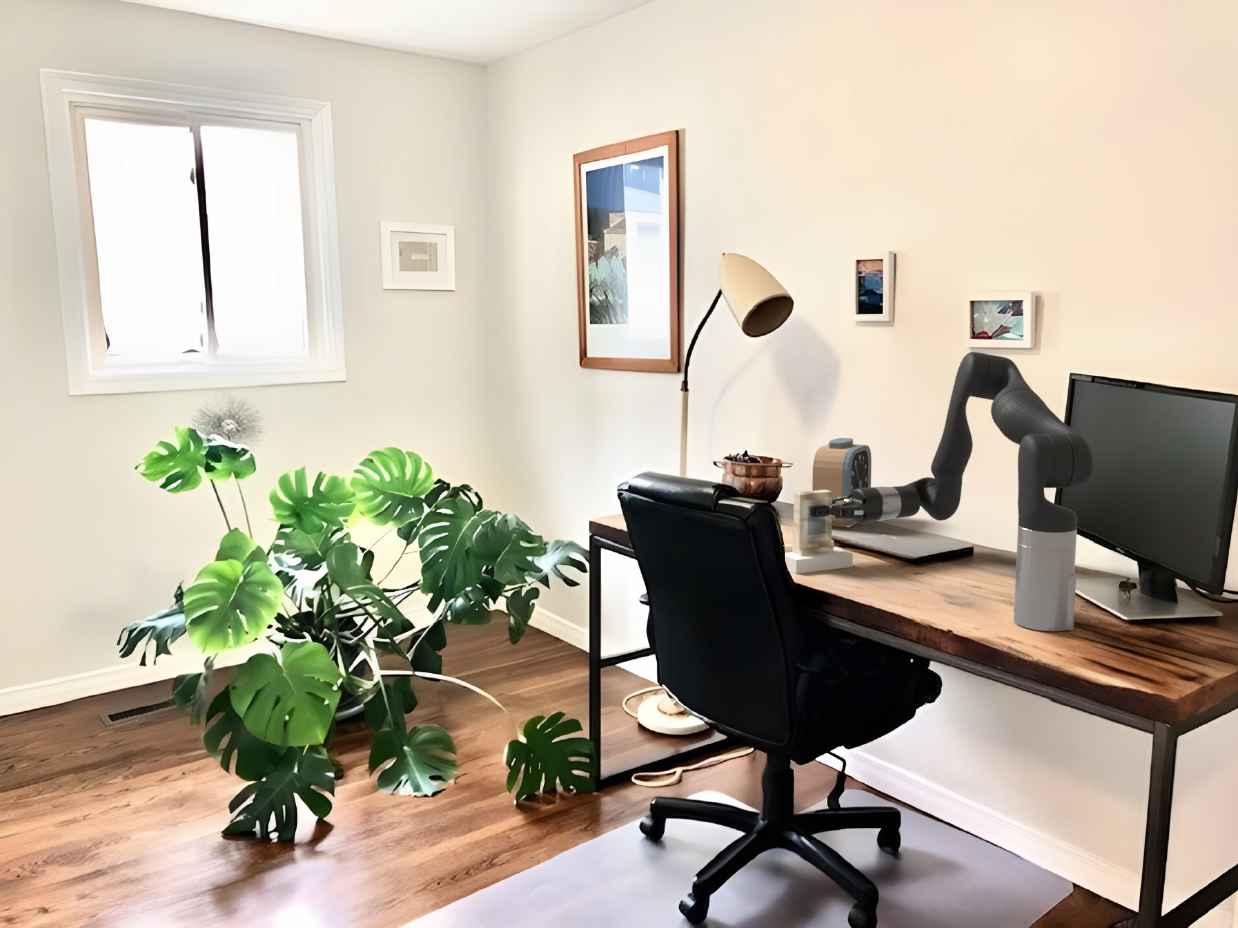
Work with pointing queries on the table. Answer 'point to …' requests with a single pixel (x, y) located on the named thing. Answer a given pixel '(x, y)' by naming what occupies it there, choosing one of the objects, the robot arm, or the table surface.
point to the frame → (811, 524)
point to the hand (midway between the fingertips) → (807, 510)
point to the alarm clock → (842, 471)
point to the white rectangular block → (818, 560)
